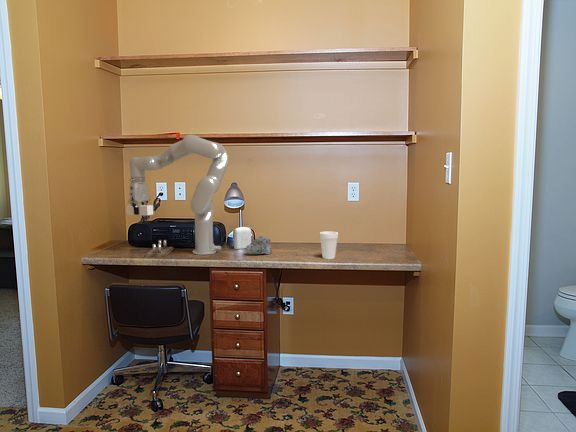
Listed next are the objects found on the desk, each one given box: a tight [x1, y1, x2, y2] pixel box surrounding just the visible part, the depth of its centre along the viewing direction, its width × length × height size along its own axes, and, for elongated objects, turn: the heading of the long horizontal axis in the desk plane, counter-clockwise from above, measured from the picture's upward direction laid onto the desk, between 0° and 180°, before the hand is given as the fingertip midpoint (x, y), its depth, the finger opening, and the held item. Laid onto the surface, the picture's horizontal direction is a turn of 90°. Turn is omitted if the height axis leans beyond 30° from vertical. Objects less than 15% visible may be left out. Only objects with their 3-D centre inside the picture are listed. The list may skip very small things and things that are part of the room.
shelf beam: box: [125, 204, 154, 216], centre depth 242 cm, size 15×4×5 cm, turn 63°
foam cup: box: [319, 230, 339, 260], centre depth 230 cm, size 10×9×13 cm
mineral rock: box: [245, 235, 272, 255], centre depth 240 cm, size 13×11×10 cm
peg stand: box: [145, 239, 174, 258], centre depth 242 cm, size 10×20×6 cm, turn 2°
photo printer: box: [233, 226, 252, 250], centre depth 255 cm, size 10×4×12 cm, turn 123°
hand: (140, 213), depth 243 cm, fingers closed on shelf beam, 4 cm apart
